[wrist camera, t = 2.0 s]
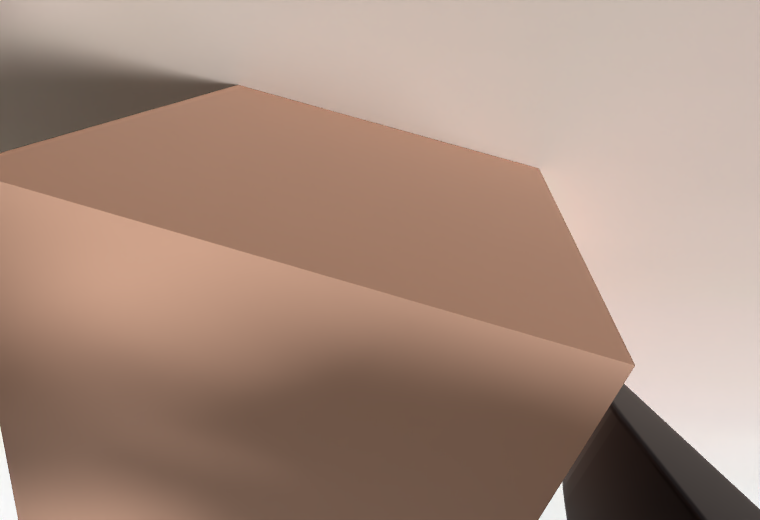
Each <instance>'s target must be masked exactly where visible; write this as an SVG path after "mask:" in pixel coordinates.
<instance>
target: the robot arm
mask: <svg viewBox="0 0 760 520" xmlns="http://www.w3.org/2000/svg"><path fill="white" fill-rule="evenodd" d="M562 482H563V494H564V502H565V509H566V516H567V520H760V509H759V508H758V507H757V506H756V505H755V504H753V503H752V502H751V501H750V500H749V499H748V498H747V497H746V496H745V495H744V494H743V493H742V492H740V491H739V490H738V489H737V488H736V487H735V486H734V485H733V484H732V483H731V482H730V481H729V480H728V479H726V478H725V477H724V476H723V475H722V474H721V473H720V472H719V471H718V470H717V469H716V468H715V467H713V466H712V465H711V464H710V463H709V462H708V461H707V460H706V459H705V458H704V457H703V456H702V455H700V454H699V453H698V452H697V451H696V450H695V449H694V448H693V447H692V446H691V445H690V444H689V443H687V442H686V441H685V440H684V439H683V438H682V437H681V436H680V435H679V434H678V433H677V432H676V431H674V430H673V429H672V428H671V427H670V426H669V425H668V424H667V423H666V422H665V421H664V420H663V419H662V418H660V417H659V416H658V415H657V414H656V413H655V412H654V411H653V410H652V409H651V408H650V407H649V406H647V405H646V404H645V403H644V402H643V401H642V400H641V399H640V398H639V397H638V396H637V395H636V394H634V393H633V392H632V391H631V390H630V389H629V388H628V387H627V386H626V385H625V384H623V386H622V387H621V389H620V390H619V392H618V394H617V395H616V397H615V398H614V400H613V402H612V403H611V405H610V406H609V408H608V409H607V411H606V413H605V414H604V416H603V417H602V419H601V421H600V422H599V424H598V425H597V427H596V429H595V430H594V432H593V433H592V435H591V437H590V438H589V440H588V441H587V443H586V444H585V446H584V448H583V449H582V451H581V452H580V454H579V456H578V457H577V459H576V460H575V462H574V464H573V465H572V467H571V468H570V470H569V472H568V473H567V475H566V476H565V478H564V479H563V481H562Z"/></svg>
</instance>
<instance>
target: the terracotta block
mask: <svg viewBox="0 0 760 520" xmlns="http://www.w3.org/2000/svg"><path fill="white" fill-rule="evenodd" d="M634 366H635V364H634V362H633V360H632V358H631V356H630V354H629V352H628V350H627V348H626V346H625V344H624V342H623V340H622V338H621V336H620V334H619V332H618V330H617V328H616V325H615V323H614V321H613V319H612V317H611V315H610V313H609V311H608V309H607V307H606V305H605V303H604V301H603V299H602V297H601V295H600V293H599V291H598V289H597V287H596V284H595V282H594V280H593V278H592V276H591V274H590V272H589V270H588V268H587V266H586V264H585V262H584V260H583V258H582V256H581V254H580V252H579V250H578V248H577V246H576V244H575V241H574V239H573V237H572V235H571V233H570V231H569V229H568V227H567V225H566V223H565V221H564V219H563V217H562V215H561V213H560V211H559V209H558V207H557V205H556V203H555V201H554V198H553V196H552V194H551V192H550V190H549V188H548V186H547V184H546V182H545V180H544V178H543V176H542V174H541V172H540V170H539V169H538V168H535V167H531V166H528V165H524V164H520V163H517V162H513V161H510V160H506V159H502V158H499V157H495V156H492V155H488V154H485V153H481V152H477V151H474V150H470V149H467V148H463V147H459V146H456V145H452V144H449V143H445V142H441V141H438V140H434V139H431V138H427V137H423V136H420V135H416V134H413V133H409V132H405V131H402V130H398V129H395V128H391V127H387V126H384V125H380V124H377V123H373V122H369V121H366V120H362V119H359V118H355V117H351V116H348V115H344V114H341V113H337V112H334V111H330V110H326V109H323V108H319V107H316V106H312V105H308V104H305V103H301V102H298V101H294V100H290V99H287V98H283V97H280V96H276V95H272V94H269V93H265V92H262V91H258V90H254V89H251V88H247V87H244V86H240V85H236V86H233V87H229V88H226V89H222V90H219V91H215V92H212V93H208V94H205V95H201V96H198V97H194V98H191V99H187V100H184V101H180V102H177V103H173V104H170V105H166V106H163V107H159V108H156V109H152V110H149V111H145V112H142V113H138V114H135V115H131V116H128V117H124V118H121V119H117V120H114V121H110V122H107V123H103V124H100V125H96V126H93V127H89V128H86V129H82V130H79V131H75V132H72V133H68V134H65V135H61V136H58V137H54V138H51V139H47V140H44V141H40V142H37V143H33V144H30V145H26V146H23V147H19V148H16V149H12V150H9V151H5V152H2V153H0V427H1V432H2V437H3V442H4V448H5V453H6V458H7V463H8V468H9V474H10V479H11V484H12V489H13V495H14V500H15V505H16V510H17V515H18V520H538V519H539V518H540V516H541V515H542V513H543V511H544V510H545V508H546V507H547V505H548V503H549V502H550V500H551V499H552V497H553V495H554V494H555V492H556V491H557V489H558V487H559V486H560V484H561V483H562V481H563V479H564V478H565V476H566V475H567V473H568V472H569V470H570V468H571V467H572V465H573V464H574V462H575V460H576V459H577V457H578V456H579V454H580V452H581V451H582V449H583V448H584V446H585V444H586V443H587V441H588V440H589V438H590V437H591V435H592V433H593V432H594V430H595V429H596V427H597V425H598V424H599V422H600V421H601V419H602V417H603V416H604V414H605V413H606V411H607V409H608V408H609V406H610V405H611V403H612V402H613V400H614V398H615V397H616V395H617V394H618V392H619V390H620V389H621V387H622V386H623V384H624V382H625V381H626V379H627V378H628V376H629V374H630V373H631V371H632V370H633V368H634Z"/></svg>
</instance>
